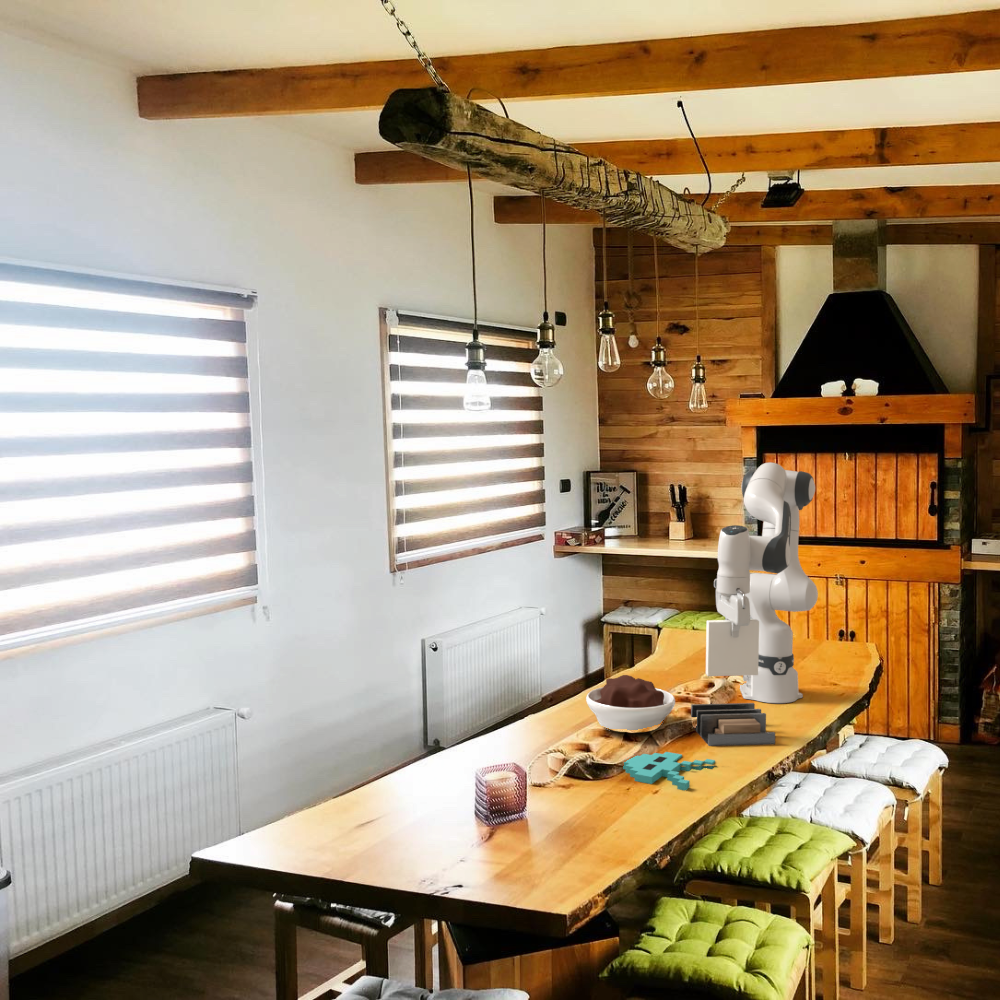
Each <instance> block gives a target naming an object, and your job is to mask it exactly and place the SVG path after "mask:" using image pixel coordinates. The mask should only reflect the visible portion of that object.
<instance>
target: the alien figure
mask: <svg viewBox="0 0 1000 1000" xmlns="http://www.w3.org/2000/svg"><path fill="white" fill-rule="evenodd" d="M682 757H683V754H681V753H677V752H676V753H675V752H670V751H665V752H664V753H660V752H654V753H652V754H647V753H642V754H641V755H637V756H635V757H633V758H631V759H629V760H627V761H626V762H624V766H623V769H622V770H625V773H626V774H629V777H631V778H634V782H638V783H644V784H649V785H653V784H654V783H656V781H658V780H659V779H660V778H662V777H664V778H666V781H669V782H671V785H672V786H677V787H676V789H677V790H681V791H685V790H686V791H688V790H689V789H690V783H691V781H690V780H688V779H685V776H683V775H680V771H683V772H690V771H691V770H696V771H702V770H703V769H706V768H707V769H708V770H713V769H714V768H716V765H714V764H715V763H716V760H715V759H709V758H706V759H705V760H699V759H694V760H693V761H689V760H683V761H681V762H678V760H680V759H681V758H682ZM704 764H705V765H704ZM688 788H689V789H688ZM687 789H688V790H687Z"/></svg>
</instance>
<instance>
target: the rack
mask: <svg viewBox="0 0 1000 1000" xmlns="http://www.w3.org/2000/svg"><path fill="white" fill-rule="evenodd" d="M755 706H756V704H755V703H754V702H739V703H738V702H737V703H734V702H733V703H698V704H697V703H695V704H693V703H692V704H691V705H690V708H691V709H690V713H691V714H690V718H691V717H697V726H696V728H695V729H694V730H695V732H696V733H697V734H698V736H699V737H701V739H702V740H703V741H704V742H705V743H706V744H707V747H708V746H709V747H723V746H724V747H725V746H727V747H728V746H729V747H730V746H762V745H764V746H765V745H767V746H768V745H775V744H776V732H775V731H769V732H768V731H767V713H765V712H762V709H761V708H755ZM723 719H755V720H756V721H757V722H759V723H760V733H719V734H715V729H718V724H719V720H723Z"/></svg>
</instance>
